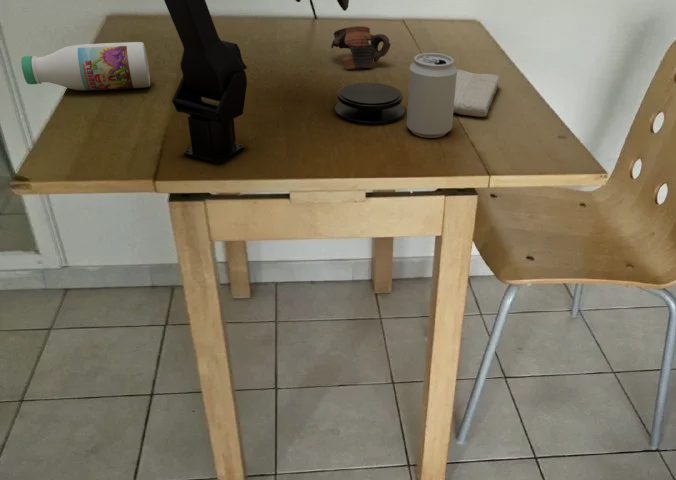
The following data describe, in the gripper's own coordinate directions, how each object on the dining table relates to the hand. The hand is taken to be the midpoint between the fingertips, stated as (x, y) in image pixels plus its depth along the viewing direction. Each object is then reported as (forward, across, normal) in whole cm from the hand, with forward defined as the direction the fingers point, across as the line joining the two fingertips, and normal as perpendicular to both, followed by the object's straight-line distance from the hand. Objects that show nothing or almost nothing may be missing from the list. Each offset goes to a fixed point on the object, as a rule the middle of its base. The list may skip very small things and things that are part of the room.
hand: (322, 4), depth 121 cm
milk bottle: (+3, +27, +18) cm, 33 cm away
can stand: (+12, -11, +10) cm, 19 cm away
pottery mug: (+23, +3, -8) cm, 24 cm away
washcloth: (+19, -22, -2) cm, 29 cm away
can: (+11, -24, +12) cm, 29 cm away
